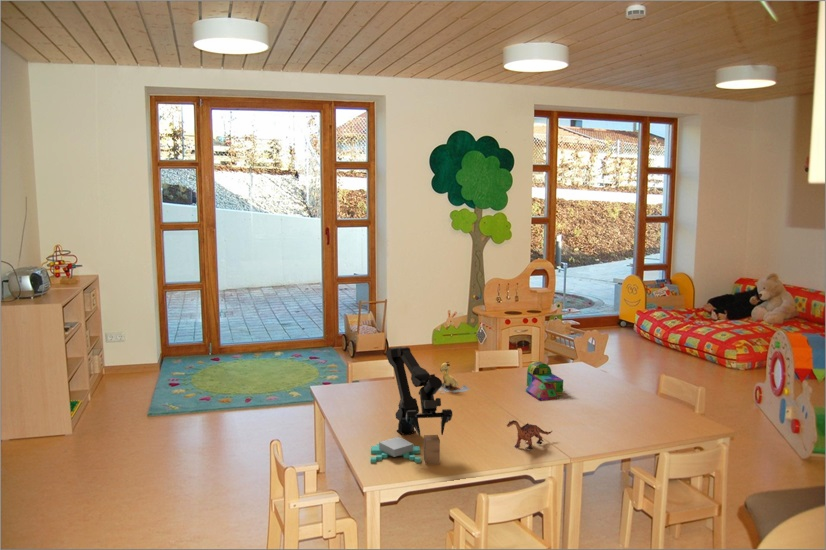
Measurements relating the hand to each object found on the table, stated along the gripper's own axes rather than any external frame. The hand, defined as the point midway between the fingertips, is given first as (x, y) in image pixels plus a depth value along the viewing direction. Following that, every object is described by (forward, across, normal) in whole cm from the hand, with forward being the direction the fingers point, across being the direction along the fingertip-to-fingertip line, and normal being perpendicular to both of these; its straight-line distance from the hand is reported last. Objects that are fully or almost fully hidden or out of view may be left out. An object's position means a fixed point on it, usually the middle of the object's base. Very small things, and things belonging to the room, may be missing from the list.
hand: (431, 435), depth 265 cm
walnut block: (+9, 0, +5) cm, 10 cm away
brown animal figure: (+1, +43, +13) cm, 45 cm away
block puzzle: (-50, +74, +64) cm, 110 cm away
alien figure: (+2, -14, +13) cm, 19 cm away
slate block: (+1, -13, +11) cm, 17 cm away
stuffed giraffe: (-58, +26, +72) cm, 96 cm away
